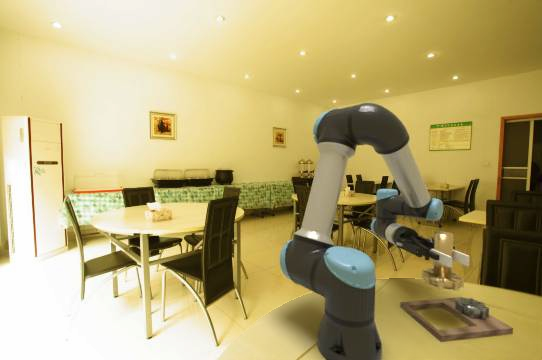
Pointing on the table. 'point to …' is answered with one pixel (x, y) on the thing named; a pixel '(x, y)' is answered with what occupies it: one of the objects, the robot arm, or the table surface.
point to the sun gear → (472, 308)
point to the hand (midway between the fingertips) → (459, 261)
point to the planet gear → (441, 273)
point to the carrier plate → (477, 325)
